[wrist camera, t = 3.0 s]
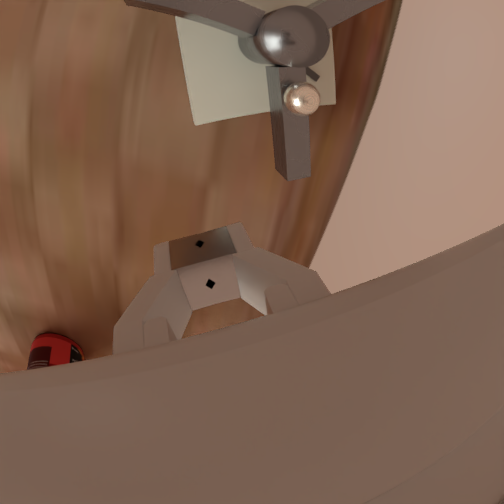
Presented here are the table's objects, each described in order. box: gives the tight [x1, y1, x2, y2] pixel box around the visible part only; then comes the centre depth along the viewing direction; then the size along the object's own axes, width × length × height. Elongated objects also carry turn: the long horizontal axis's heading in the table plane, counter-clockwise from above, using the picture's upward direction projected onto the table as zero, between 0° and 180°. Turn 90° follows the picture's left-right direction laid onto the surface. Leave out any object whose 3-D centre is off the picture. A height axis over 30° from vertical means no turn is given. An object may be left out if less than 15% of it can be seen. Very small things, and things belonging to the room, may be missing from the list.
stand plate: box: [175, 0, 336, 125], centre depth 18 cm, size 12×12×2 cm
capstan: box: [124, 0, 385, 181], centre depth 16 cm, size 16×18×7 cm
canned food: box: [27, 333, 85, 370], centre depth 28 cm, size 8×8×11 cm
